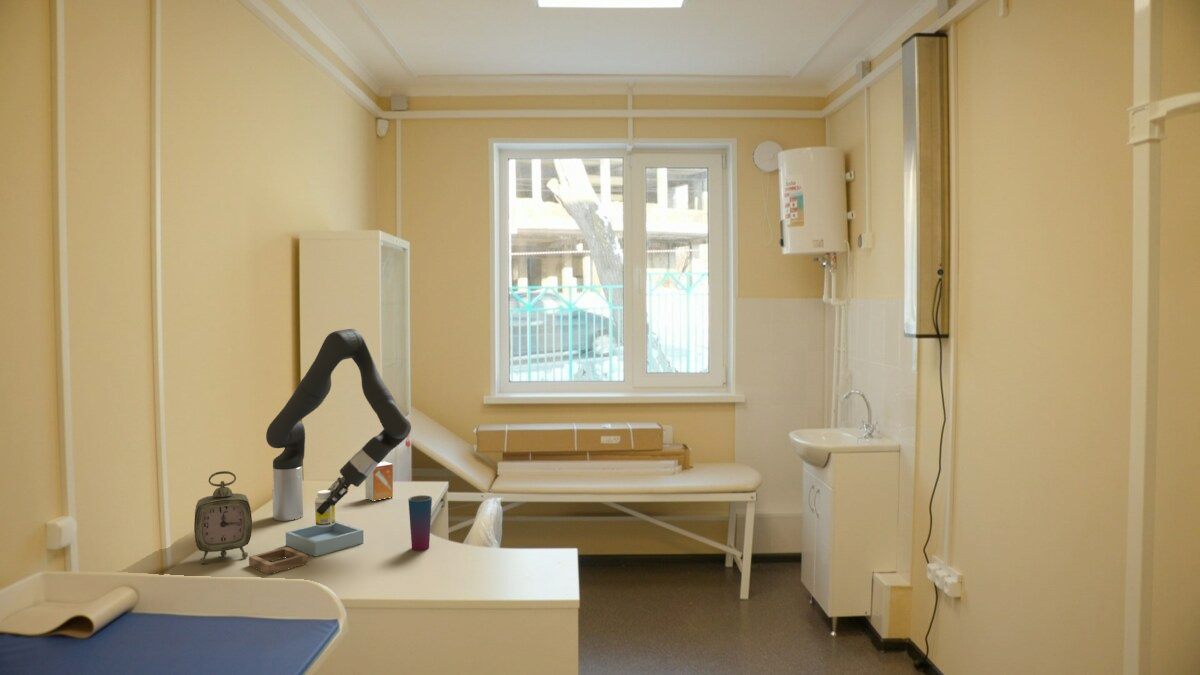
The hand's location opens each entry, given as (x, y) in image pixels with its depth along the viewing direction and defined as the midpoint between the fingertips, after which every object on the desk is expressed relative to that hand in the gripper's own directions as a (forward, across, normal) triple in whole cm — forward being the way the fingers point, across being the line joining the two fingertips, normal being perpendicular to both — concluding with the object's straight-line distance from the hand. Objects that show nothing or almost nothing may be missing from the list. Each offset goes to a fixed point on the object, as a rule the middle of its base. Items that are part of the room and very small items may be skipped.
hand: (318, 510), depth 229 cm
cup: (-12, +14, +28) cm, 33 cm away
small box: (-8, -49, +23) cm, 55 cm away
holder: (+15, +14, 0) cm, 21 cm away
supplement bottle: (+2, 0, +5) cm, 5 cm away
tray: (+6, 0, +9) cm, 11 cm away
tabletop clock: (+26, +3, -11) cm, 28 cm away
